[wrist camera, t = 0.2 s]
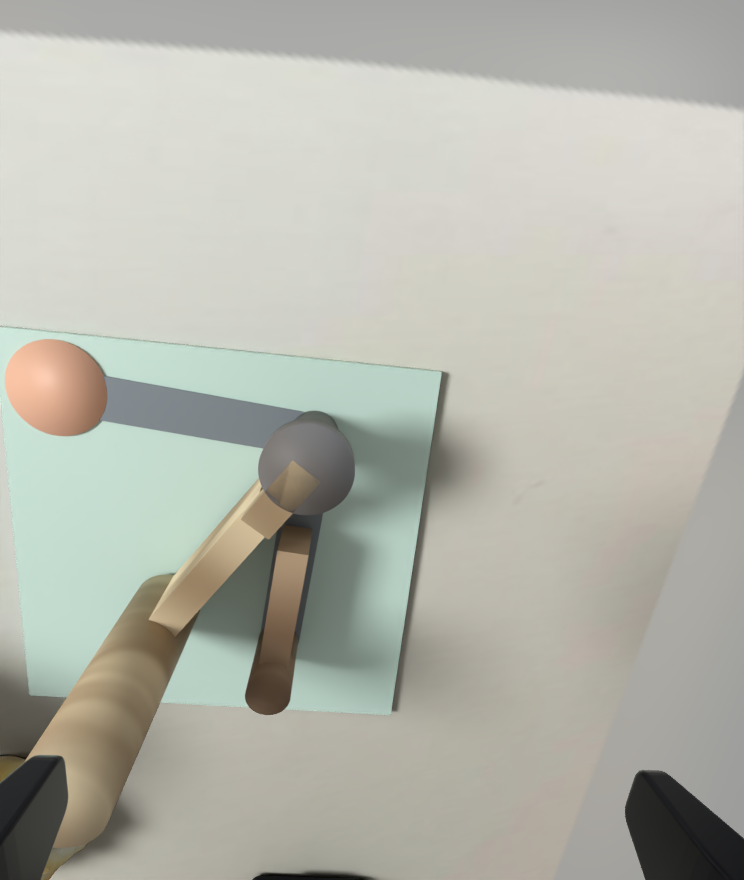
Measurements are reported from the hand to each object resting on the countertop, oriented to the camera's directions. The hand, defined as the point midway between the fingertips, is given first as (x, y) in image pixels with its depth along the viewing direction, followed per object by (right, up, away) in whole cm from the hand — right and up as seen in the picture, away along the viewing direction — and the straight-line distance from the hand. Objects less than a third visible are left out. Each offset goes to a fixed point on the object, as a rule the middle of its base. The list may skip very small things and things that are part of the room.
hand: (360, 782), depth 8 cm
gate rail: (-5, +2, +14) cm, 15 cm away
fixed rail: (-3, +1, +15) cm, 15 cm away
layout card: (-6, +1, +15) cm, 16 cm away
